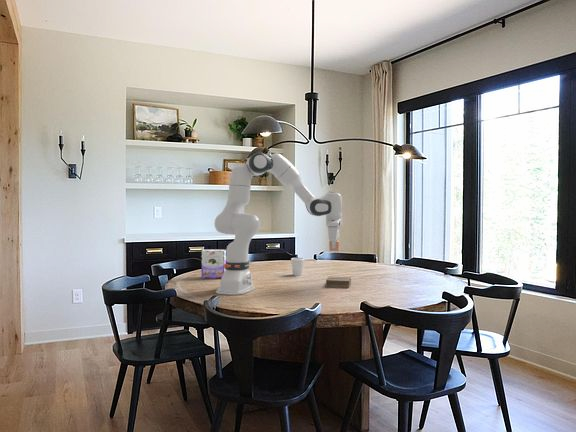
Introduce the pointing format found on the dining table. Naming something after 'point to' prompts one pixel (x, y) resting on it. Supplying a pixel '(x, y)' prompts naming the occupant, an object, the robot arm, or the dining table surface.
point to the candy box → (213, 263)
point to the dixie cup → (297, 266)
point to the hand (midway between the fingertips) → (334, 247)
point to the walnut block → (338, 282)
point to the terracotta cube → (336, 246)
